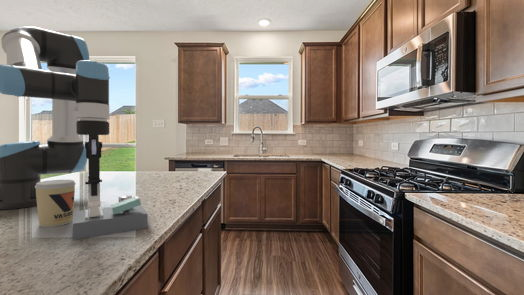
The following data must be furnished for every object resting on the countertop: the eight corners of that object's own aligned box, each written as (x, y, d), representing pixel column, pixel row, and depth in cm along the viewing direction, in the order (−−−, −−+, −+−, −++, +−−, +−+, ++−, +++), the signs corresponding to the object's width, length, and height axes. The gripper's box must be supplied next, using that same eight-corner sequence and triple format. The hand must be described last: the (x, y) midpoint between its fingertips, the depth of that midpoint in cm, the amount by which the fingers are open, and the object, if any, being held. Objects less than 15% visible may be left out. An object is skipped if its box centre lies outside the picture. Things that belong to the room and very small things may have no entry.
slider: (87, 214, 71) (87, 201, 71) (100, 213, 73) (100, 200, 73) (87, 217, 69) (87, 204, 68) (100, 216, 70) (100, 202, 70)
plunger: (118, 206, 80) (118, 196, 80) (131, 204, 82) (131, 195, 82) (119, 208, 77) (119, 198, 77) (132, 207, 79) (132, 197, 79)
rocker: (112, 211, 74) (110, 204, 74) (139, 201, 78) (137, 195, 77) (113, 214, 71) (111, 207, 70) (141, 204, 74) (139, 197, 74)
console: (75, 225, 76) (75, 208, 76) (140, 216, 85) (140, 201, 85) (72, 239, 65) (72, 220, 65) (147, 227, 74) (147, 210, 74)
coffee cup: (54, 229, 72) (53, 185, 72) (26, 226, 74) (25, 183, 74) (83, 219, 82) (83, 180, 81) (58, 217, 83) (57, 178, 83)
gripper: (77, 121, 75) (78, 203, 76) (75, 118, 64) (76, 215, 65) (107, 122, 79) (108, 200, 80) (110, 119, 68) (111, 210, 69)
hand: (94, 207), depth 73 cm, fingers closed
